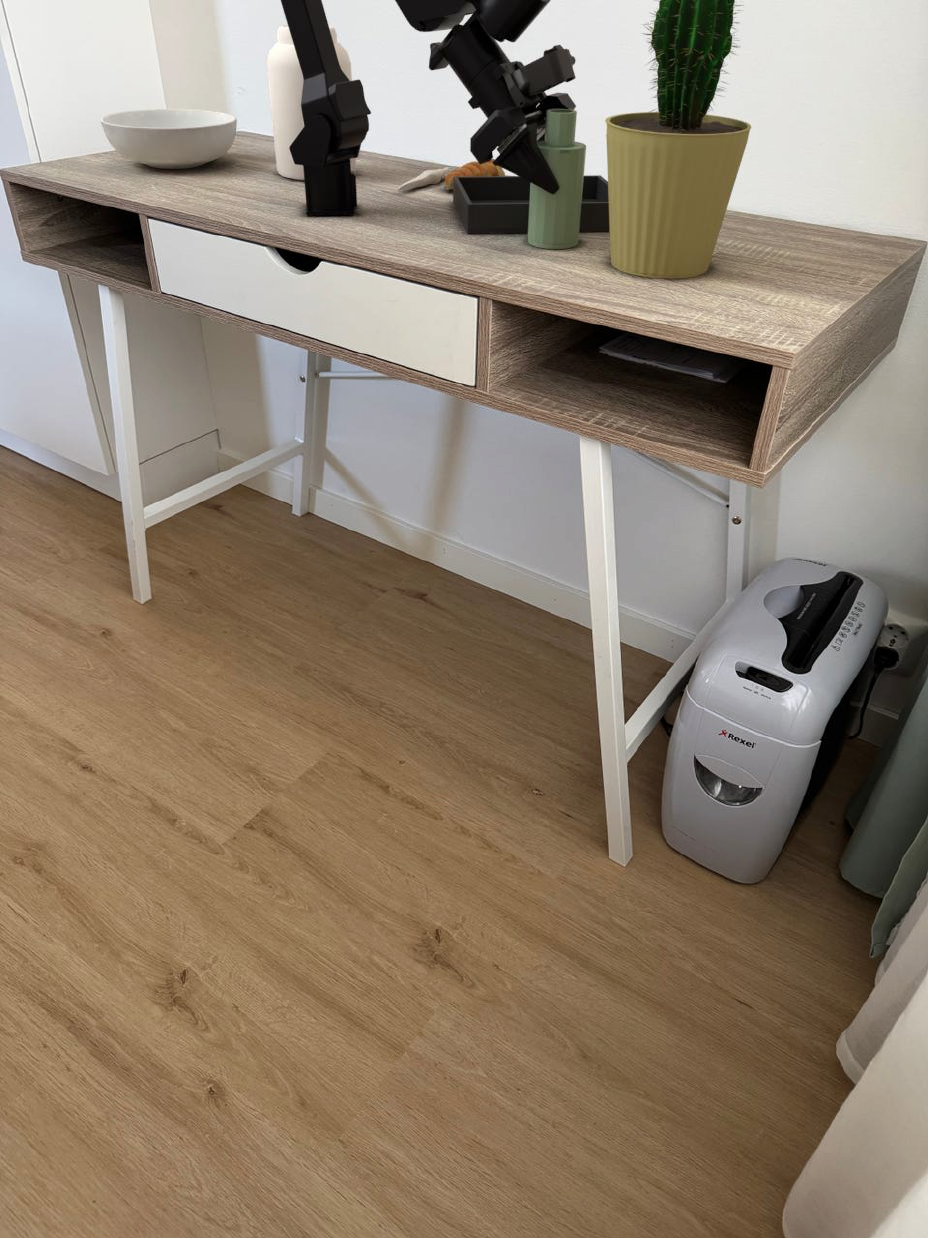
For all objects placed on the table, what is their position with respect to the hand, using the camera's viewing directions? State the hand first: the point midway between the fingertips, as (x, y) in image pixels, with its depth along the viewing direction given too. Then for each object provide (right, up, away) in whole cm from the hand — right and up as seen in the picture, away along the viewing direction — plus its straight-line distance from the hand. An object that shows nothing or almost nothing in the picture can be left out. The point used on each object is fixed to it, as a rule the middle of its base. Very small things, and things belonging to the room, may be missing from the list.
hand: (567, 186), depth 111 cm
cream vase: (-36, +19, +36) cm, 54 cm away
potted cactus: (+10, -11, -3) cm, 15 cm away
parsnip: (-19, +14, +31) cm, 39 cm away
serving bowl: (-60, +23, +41) cm, 76 cm away
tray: (-2, +3, +15) cm, 16 cm away
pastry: (-10, +13, +29) cm, 34 cm away
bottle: (-1, -5, +4) cm, 7 cm away
